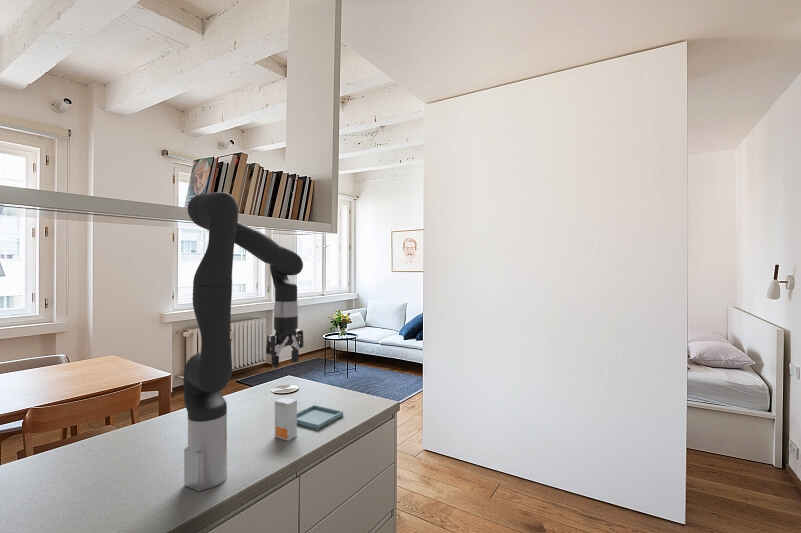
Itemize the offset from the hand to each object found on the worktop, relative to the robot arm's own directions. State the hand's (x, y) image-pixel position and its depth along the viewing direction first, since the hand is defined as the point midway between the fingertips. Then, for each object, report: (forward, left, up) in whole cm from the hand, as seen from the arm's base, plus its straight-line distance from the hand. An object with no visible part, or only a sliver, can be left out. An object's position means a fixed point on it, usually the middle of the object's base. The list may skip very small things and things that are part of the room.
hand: (285, 364), depth 130 cm
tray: (+16, +1, -24) cm, 29 cm away
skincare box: (0, 0, -24) cm, 24 cm away
